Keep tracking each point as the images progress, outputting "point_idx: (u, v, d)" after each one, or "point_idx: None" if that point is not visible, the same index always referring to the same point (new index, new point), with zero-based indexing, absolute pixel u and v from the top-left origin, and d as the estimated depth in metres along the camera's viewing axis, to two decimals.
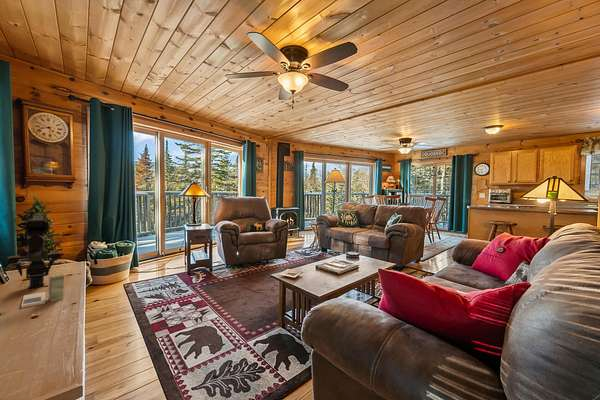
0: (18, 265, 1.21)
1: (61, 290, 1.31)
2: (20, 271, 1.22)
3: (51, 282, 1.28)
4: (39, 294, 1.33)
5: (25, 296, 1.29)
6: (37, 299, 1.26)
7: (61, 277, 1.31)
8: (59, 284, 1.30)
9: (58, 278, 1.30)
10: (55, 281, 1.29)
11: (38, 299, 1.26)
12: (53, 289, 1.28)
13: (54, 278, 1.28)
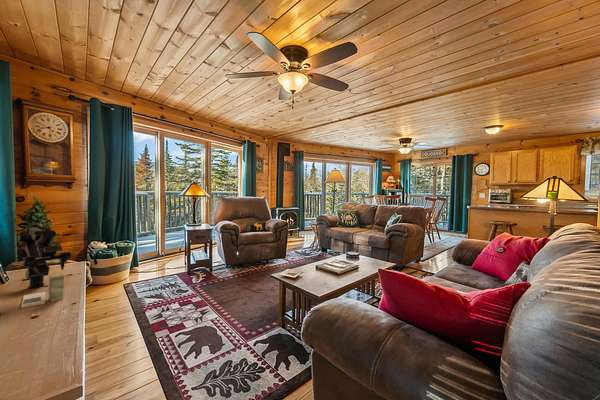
0: (35, 262, 1.31)
1: (61, 290, 1.31)
2: (38, 268, 1.31)
3: (51, 282, 1.28)
4: (39, 294, 1.33)
5: (25, 296, 1.29)
6: (37, 299, 1.26)
7: (61, 277, 1.31)
8: (59, 284, 1.30)
9: (58, 278, 1.30)
10: (55, 281, 1.29)
11: (38, 299, 1.26)
12: (53, 289, 1.28)
13: (54, 278, 1.28)
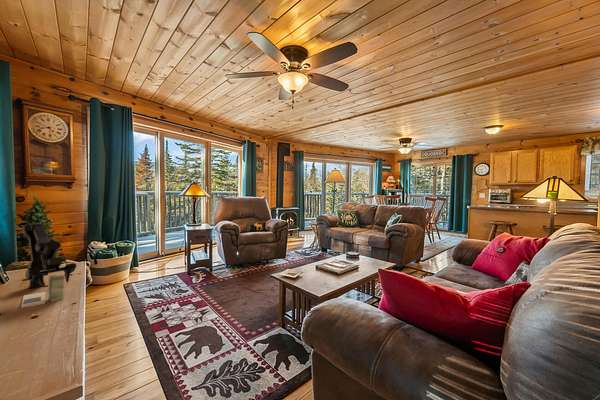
0: (40, 275, 1.27)
1: (61, 290, 1.31)
2: (42, 281, 1.27)
3: (51, 282, 1.28)
4: (39, 294, 1.33)
5: (25, 296, 1.29)
6: (37, 299, 1.26)
7: (61, 277, 1.31)
8: (59, 284, 1.30)
9: (58, 278, 1.30)
10: (55, 281, 1.29)
11: (38, 299, 1.26)
12: (53, 289, 1.28)
13: (54, 278, 1.28)
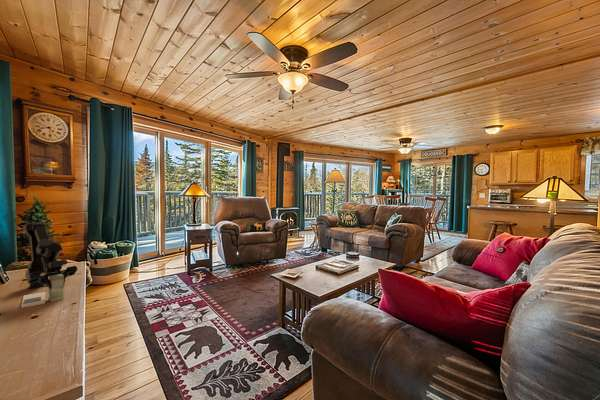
0: (46, 277, 1.28)
1: (61, 290, 1.31)
2: (49, 283, 1.28)
3: (51, 282, 1.28)
4: (39, 294, 1.33)
5: (25, 296, 1.29)
6: (37, 299, 1.26)
7: (61, 277, 1.31)
8: (59, 284, 1.30)
9: (58, 278, 1.30)
10: (55, 281, 1.29)
11: (38, 299, 1.26)
12: (53, 289, 1.28)
13: (54, 278, 1.28)
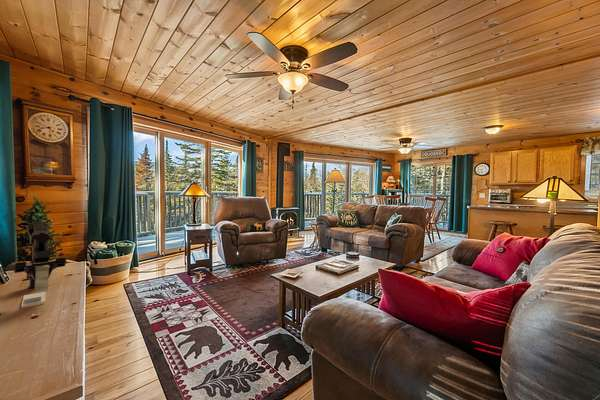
0: (32, 267, 1.25)
1: (46, 281, 1.27)
2: (34, 274, 1.25)
3: (35, 273, 1.24)
4: (39, 294, 1.33)
5: (25, 296, 1.29)
6: (37, 299, 1.26)
7: (46, 268, 1.26)
8: (43, 275, 1.26)
9: (42, 269, 1.25)
10: (39, 272, 1.25)
11: (38, 299, 1.26)
12: (37, 280, 1.24)
13: (38, 269, 1.24)
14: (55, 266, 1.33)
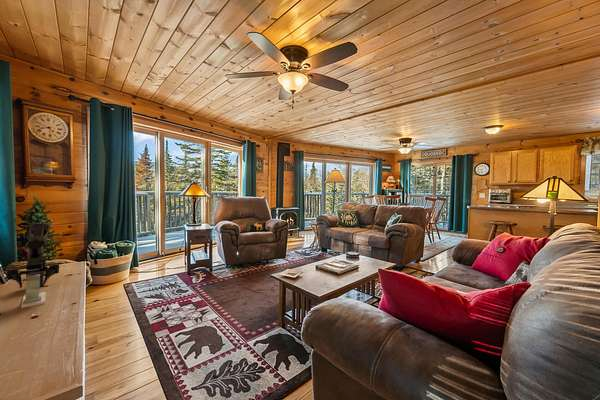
0: (19, 275, 1.23)
1: (37, 291, 1.25)
2: (20, 282, 1.22)
3: (26, 282, 1.23)
4: (39, 294, 1.33)
5: (25, 296, 1.29)
6: None
7: (36, 278, 1.25)
8: (34, 284, 1.24)
9: (32, 279, 1.24)
10: (29, 281, 1.23)
11: None
12: (27, 290, 1.23)
13: (28, 278, 1.23)
14: (52, 273, 1.33)
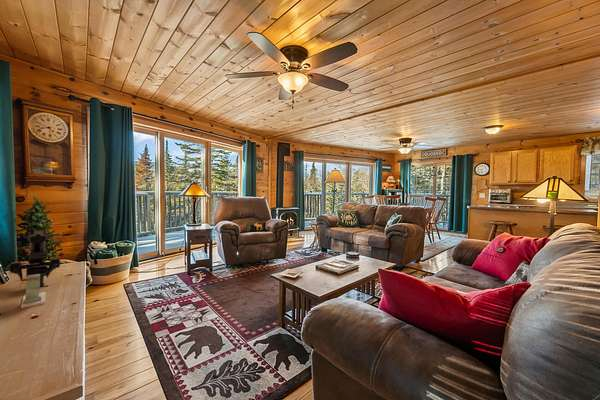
0: (19, 269, 1.28)
1: (37, 291, 1.25)
2: (21, 275, 1.27)
3: (26, 282, 1.23)
4: (39, 294, 1.33)
5: (25, 296, 1.29)
6: None
7: (36, 278, 1.25)
8: (34, 284, 1.24)
9: (32, 279, 1.24)
10: (29, 281, 1.23)
11: None
12: (27, 290, 1.23)
13: (28, 278, 1.23)
14: (55, 266, 1.39)
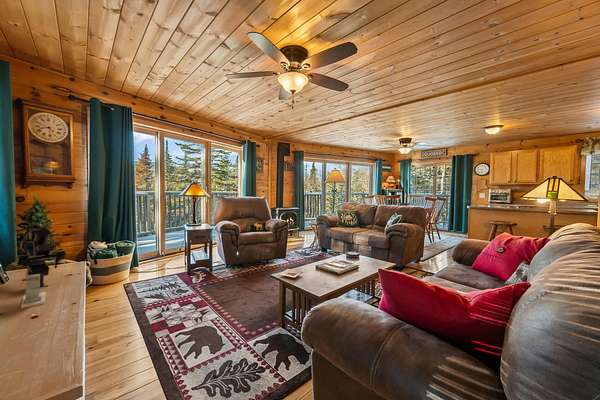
0: (28, 260, 1.32)
1: (37, 291, 1.25)
2: (31, 267, 1.32)
3: (26, 282, 1.23)
4: (39, 294, 1.33)
5: (25, 296, 1.29)
6: None
7: (36, 278, 1.25)
8: (34, 284, 1.24)
9: (32, 279, 1.24)
10: (29, 281, 1.23)
11: None
12: (27, 290, 1.23)
13: (28, 278, 1.23)
14: (60, 258, 1.44)
